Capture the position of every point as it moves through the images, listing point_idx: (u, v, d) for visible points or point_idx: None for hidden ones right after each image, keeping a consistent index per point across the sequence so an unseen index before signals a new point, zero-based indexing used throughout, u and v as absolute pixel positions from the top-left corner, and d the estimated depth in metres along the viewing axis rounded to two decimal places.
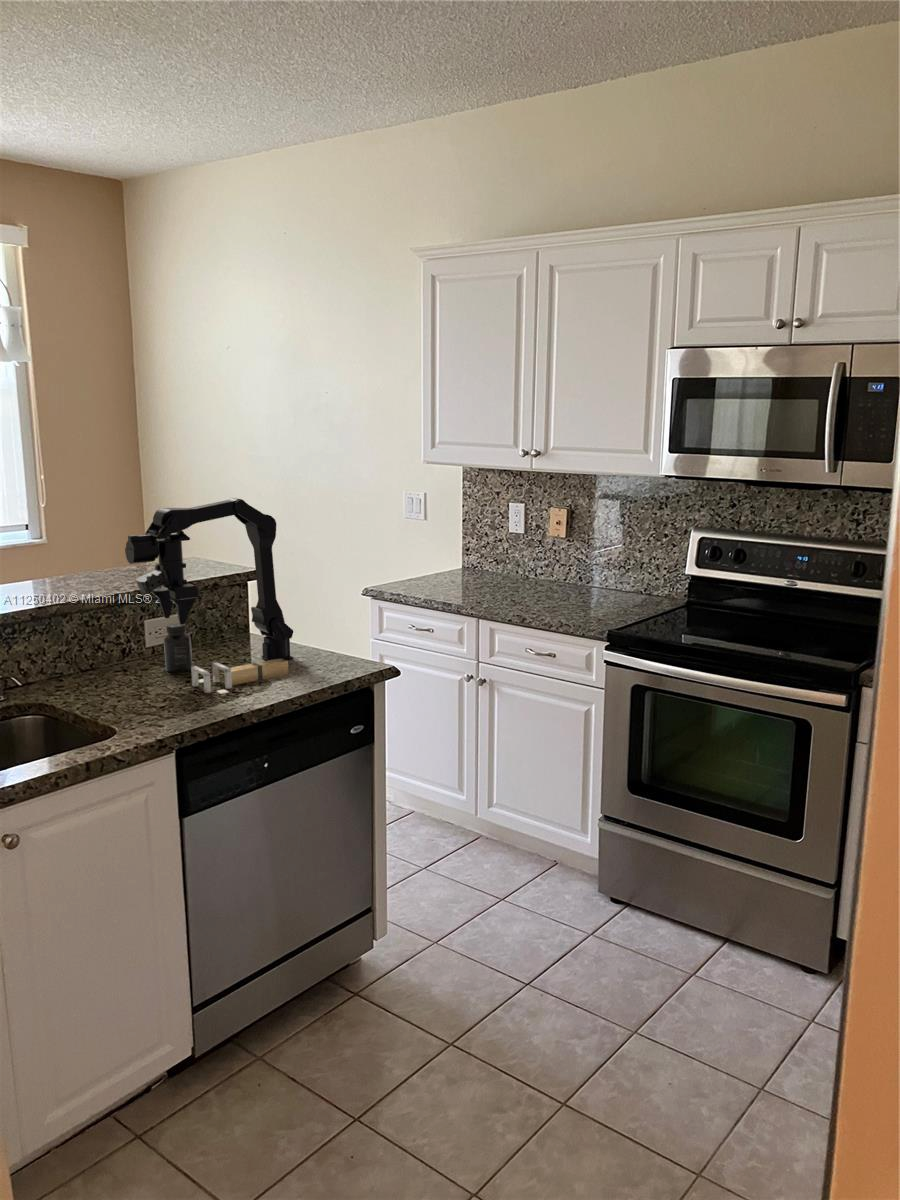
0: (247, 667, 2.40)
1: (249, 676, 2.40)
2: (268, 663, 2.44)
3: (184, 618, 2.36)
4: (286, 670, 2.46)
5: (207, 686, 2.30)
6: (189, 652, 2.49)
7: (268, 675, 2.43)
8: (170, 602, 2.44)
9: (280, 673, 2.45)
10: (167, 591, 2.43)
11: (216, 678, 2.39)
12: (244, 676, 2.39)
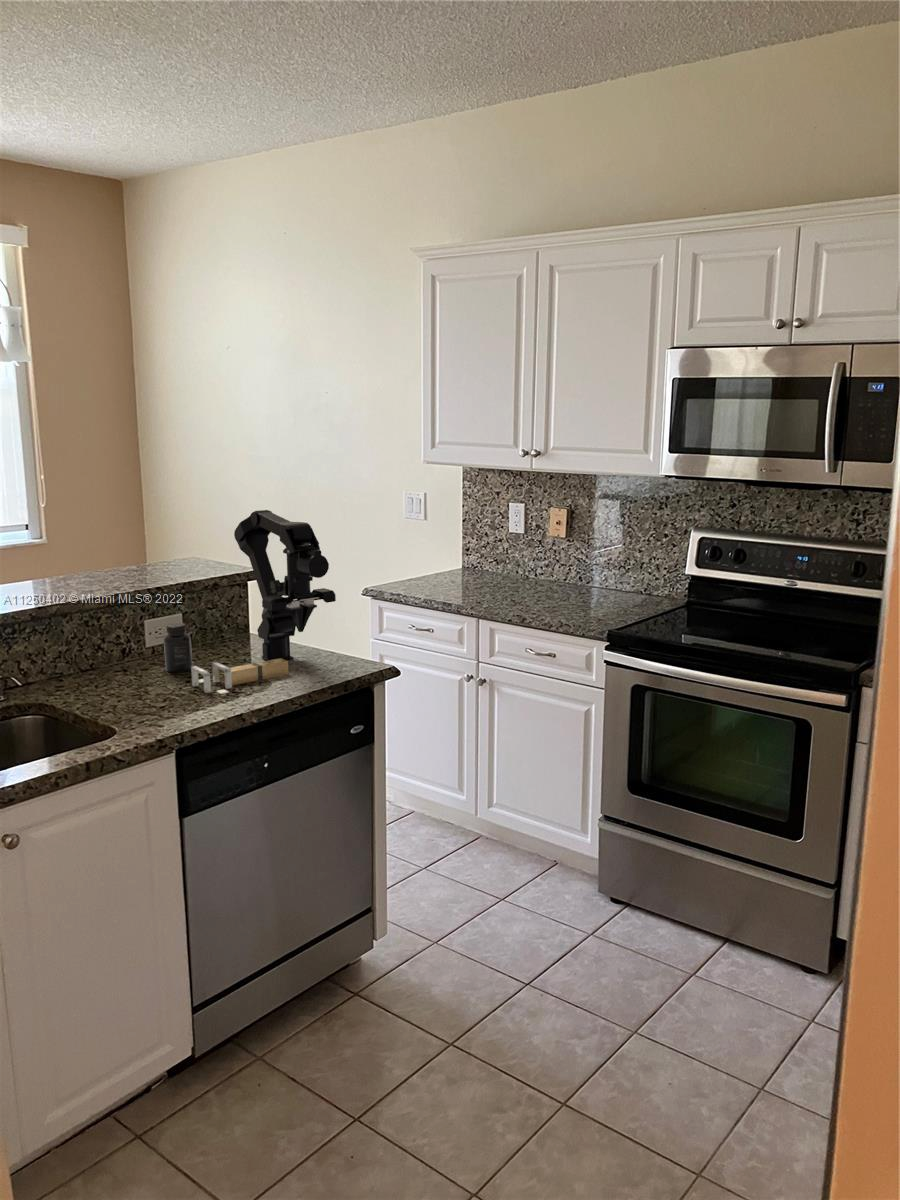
0: (247, 667, 2.40)
1: (249, 676, 2.40)
2: (268, 663, 2.44)
3: (298, 626, 2.48)
4: (286, 670, 2.46)
5: (207, 686, 2.30)
6: (189, 652, 2.49)
7: (268, 675, 2.43)
8: (303, 617, 2.47)
9: (280, 673, 2.45)
10: (303, 606, 2.47)
11: (216, 678, 2.39)
12: (244, 676, 2.39)
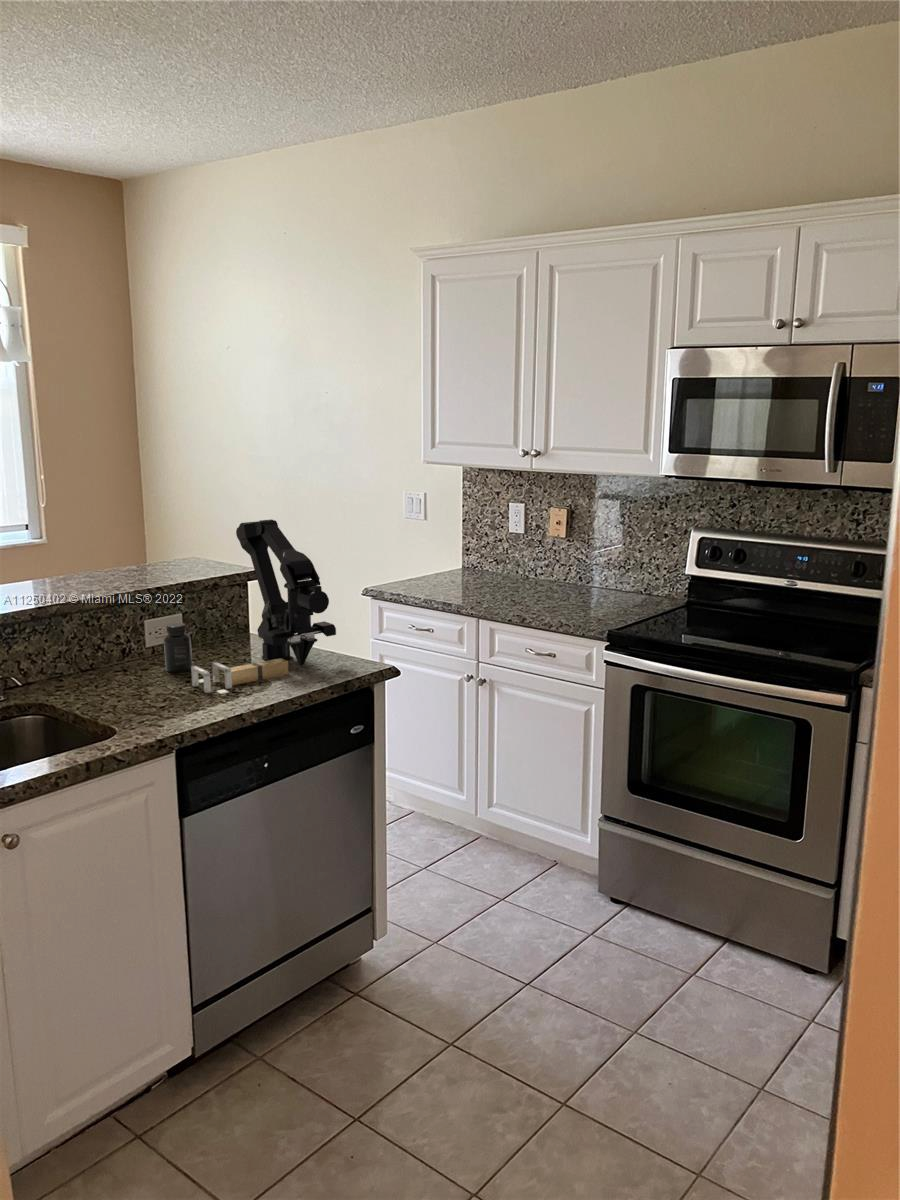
0: (247, 667, 2.40)
1: (249, 676, 2.40)
2: (268, 663, 2.44)
3: (299, 660, 2.50)
4: (286, 670, 2.46)
5: (207, 686, 2.30)
6: (189, 652, 2.49)
7: (268, 675, 2.43)
8: (304, 651, 2.49)
9: (280, 673, 2.45)
10: (304, 640, 2.49)
11: (216, 678, 2.39)
12: (244, 676, 2.39)
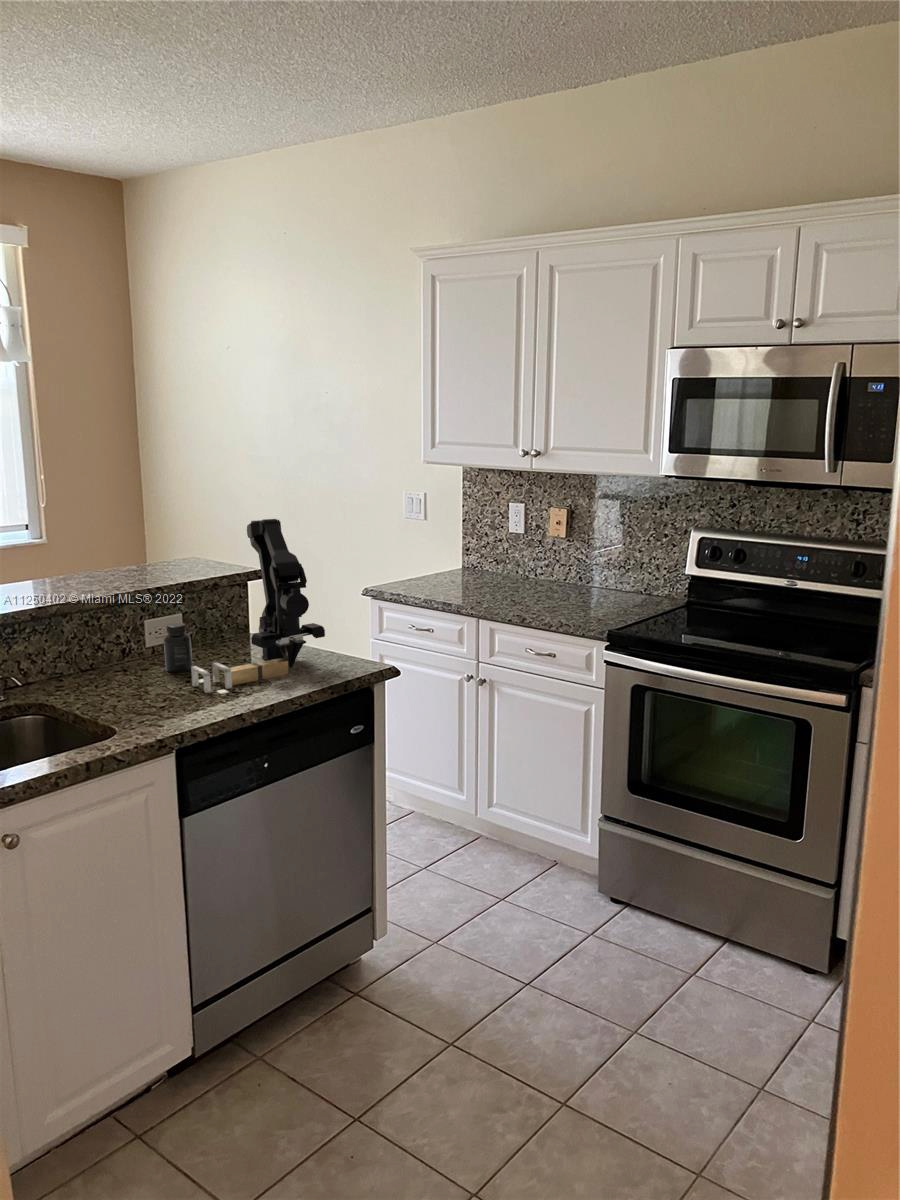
0: (247, 667, 2.40)
1: (249, 676, 2.39)
2: (268, 663, 2.44)
3: None
4: (286, 670, 2.46)
5: (207, 686, 2.30)
6: (189, 652, 2.49)
7: (268, 675, 2.43)
8: (292, 653, 2.47)
9: (280, 673, 2.45)
10: (292, 642, 2.47)
11: (216, 678, 2.39)
12: (244, 676, 2.39)
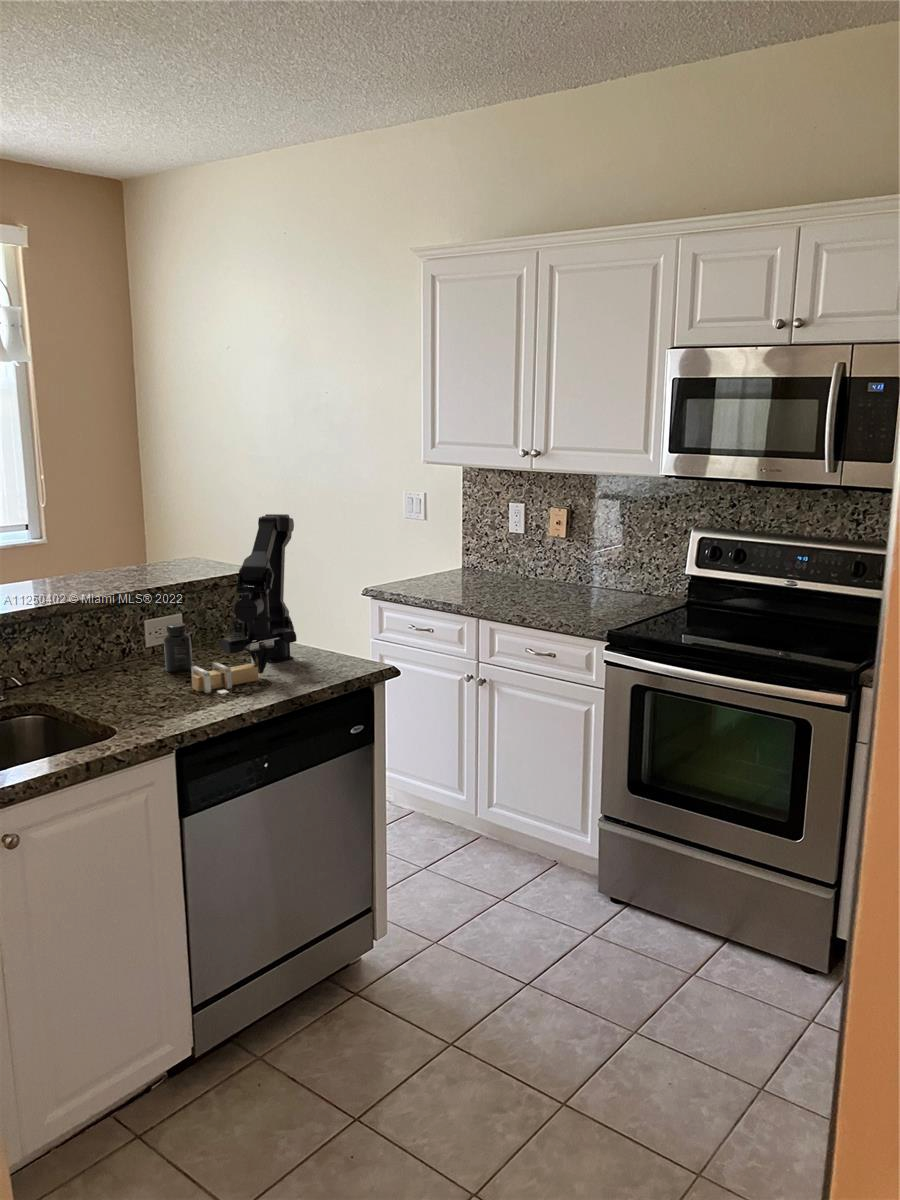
0: (215, 673, 2.35)
1: (217, 682, 2.34)
2: (237, 668, 2.38)
3: (258, 668, 2.42)
4: (256, 676, 2.41)
5: (207, 686, 2.30)
6: (189, 652, 2.49)
7: (237, 681, 2.38)
8: (263, 659, 2.42)
9: (250, 679, 2.40)
10: (263, 647, 2.42)
11: None
12: (212, 682, 2.34)
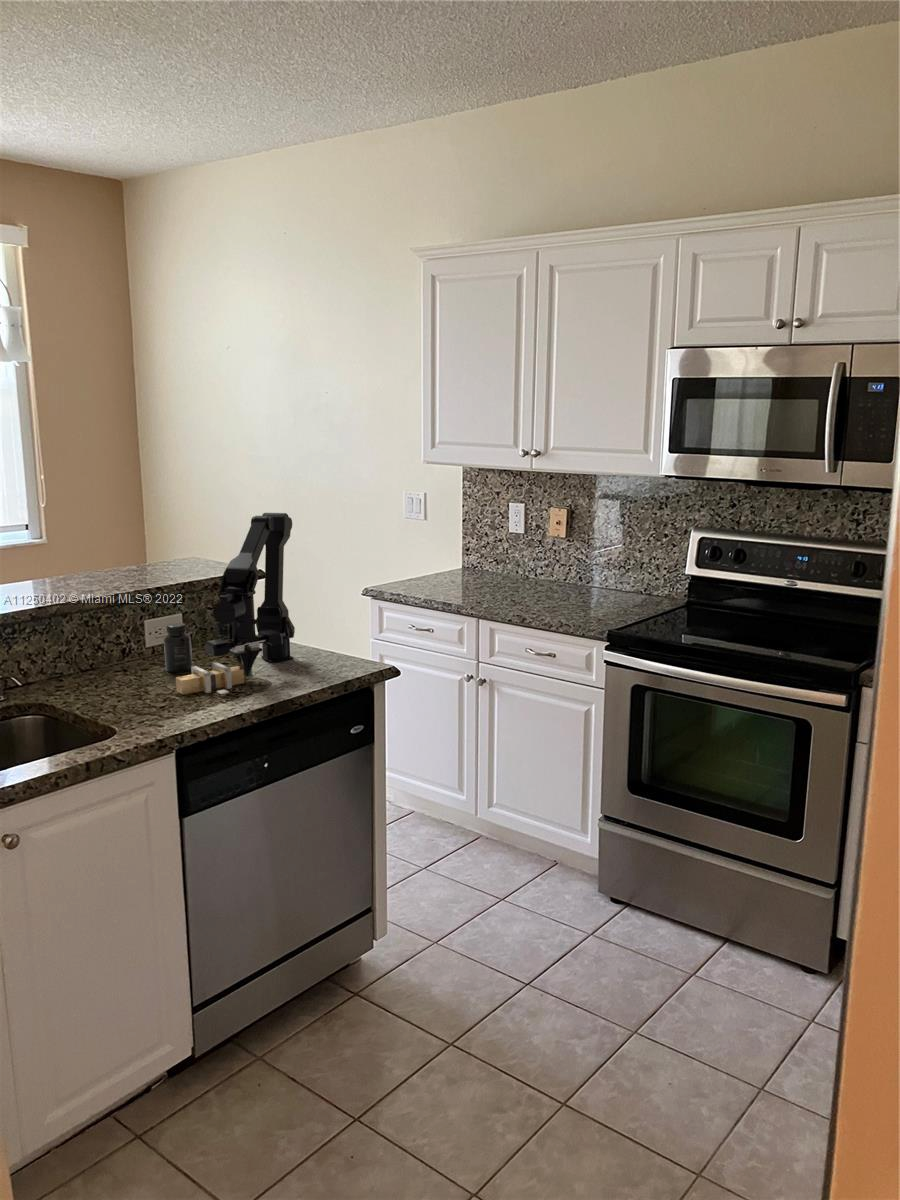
0: (199, 676, 2.32)
1: (201, 685, 2.32)
2: (222, 671, 2.36)
3: (243, 670, 2.40)
4: (241, 679, 2.38)
5: (207, 686, 2.30)
6: (189, 652, 2.49)
7: (222, 683, 2.35)
8: (248, 661, 2.39)
9: (235, 682, 2.37)
10: (248, 650, 2.39)
11: None
12: (196, 685, 2.31)
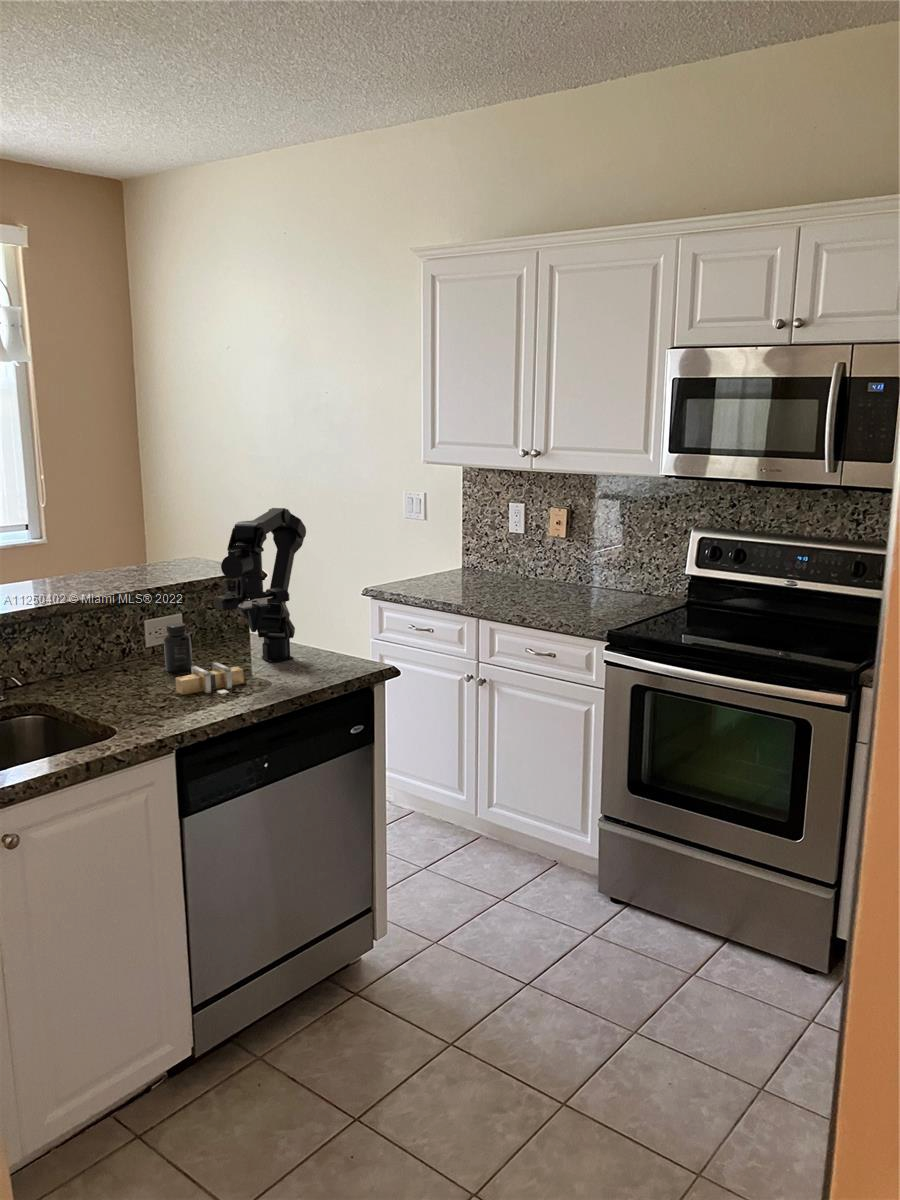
0: (199, 676, 2.32)
1: (201, 685, 2.32)
2: (222, 671, 2.36)
3: (251, 626, 2.44)
4: (241, 679, 2.38)
5: (207, 686, 2.30)
6: (189, 652, 2.49)
7: (221, 684, 2.35)
8: (256, 617, 2.44)
9: (235, 682, 2.37)
10: (256, 606, 2.44)
11: None
12: (196, 685, 2.31)
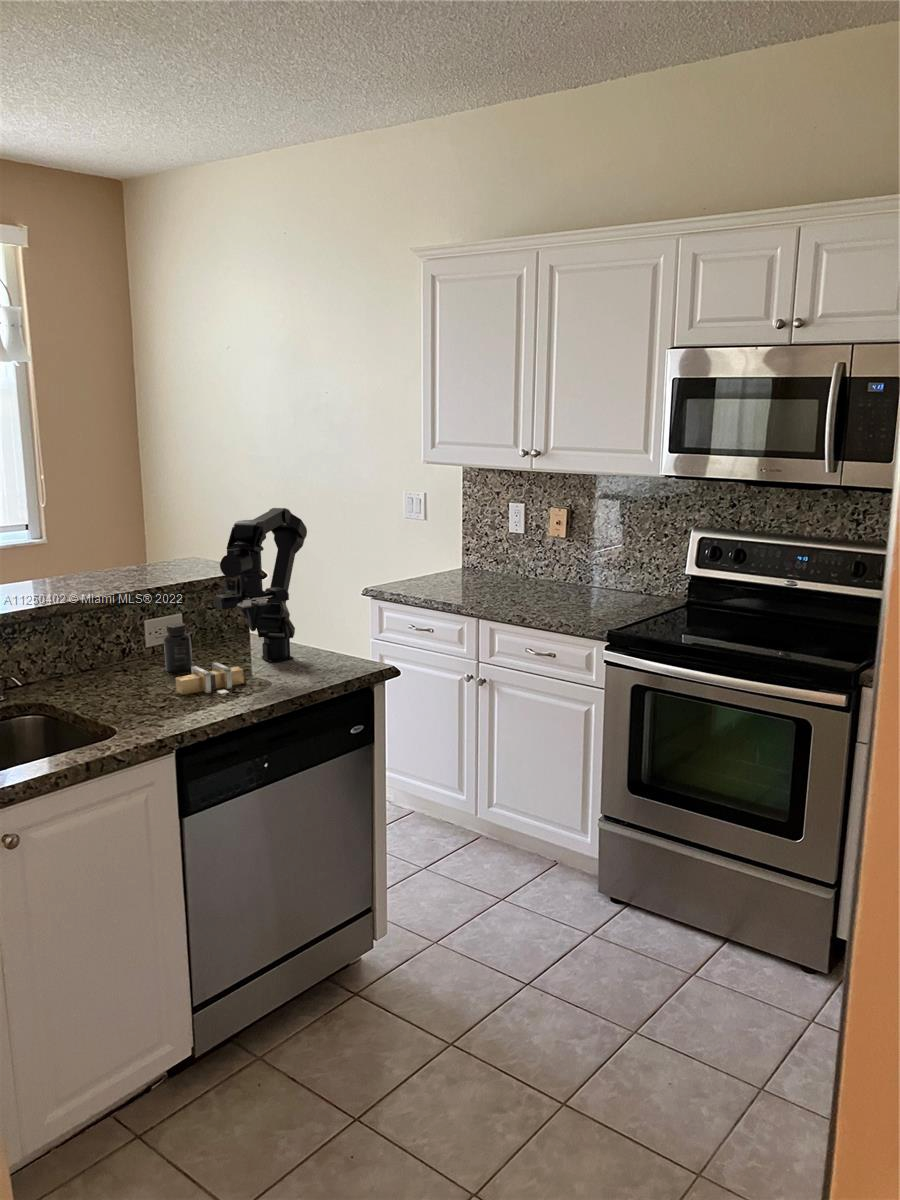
0: (199, 676, 2.32)
1: (201, 685, 2.32)
2: (222, 671, 2.36)
3: (250, 625, 2.45)
4: (241, 679, 2.38)
5: (207, 686, 2.30)
6: (189, 652, 2.49)
7: (221, 684, 2.35)
8: (255, 616, 2.44)
9: (235, 682, 2.37)
10: (255, 605, 2.44)
11: None
12: (196, 685, 2.31)
